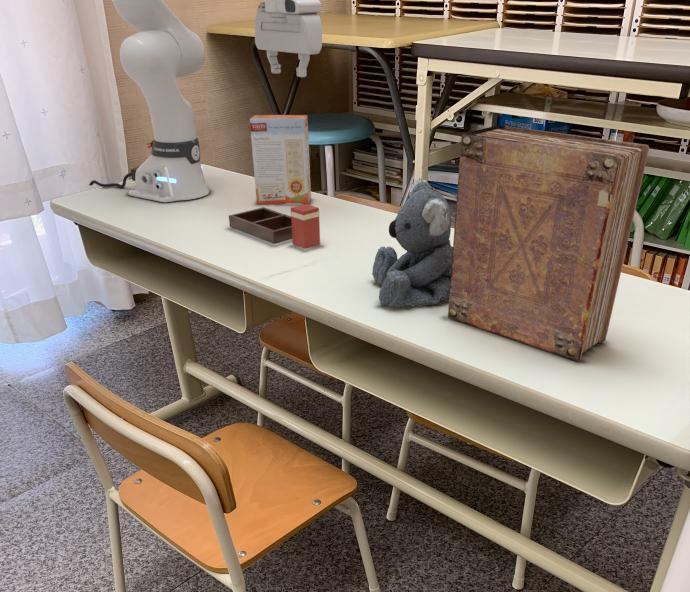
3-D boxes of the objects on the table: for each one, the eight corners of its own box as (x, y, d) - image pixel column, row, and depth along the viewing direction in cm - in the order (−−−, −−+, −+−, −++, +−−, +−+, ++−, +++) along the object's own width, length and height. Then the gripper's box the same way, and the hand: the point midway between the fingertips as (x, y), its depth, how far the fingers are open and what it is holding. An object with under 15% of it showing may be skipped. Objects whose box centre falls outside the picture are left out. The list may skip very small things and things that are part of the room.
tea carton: (292, 246, 155) (290, 207, 150) (307, 242, 157) (306, 203, 152) (305, 251, 152) (303, 211, 147) (320, 246, 154) (319, 207, 149)
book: (606, 343, 113) (651, 145, 95) (578, 362, 107) (621, 156, 90) (476, 302, 127) (495, 124, 110) (446, 318, 122) (461, 132, 104)
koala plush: (369, 277, 138) (370, 174, 127) (458, 274, 139) (466, 171, 128) (381, 312, 124) (383, 199, 113) (479, 307, 125) (491, 195, 114)
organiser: (229, 229, 166) (228, 215, 164) (264, 220, 171) (263, 207, 169) (274, 246, 155) (273, 231, 153) (309, 236, 160) (309, 222, 159)
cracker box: (311, 199, 187) (308, 114, 175) (308, 205, 182) (304, 118, 170) (260, 198, 188) (254, 113, 176) (256, 204, 183) (248, 117, 171)
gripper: (245, 1, 154) (250, 72, 162) (302, 3, 142) (305, 80, 150) (268, 1, 158) (272, 70, 166) (326, 2, 145) (327, 77, 153)
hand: (288, 75), depth 157 cm, fingers open, 8 cm apart
